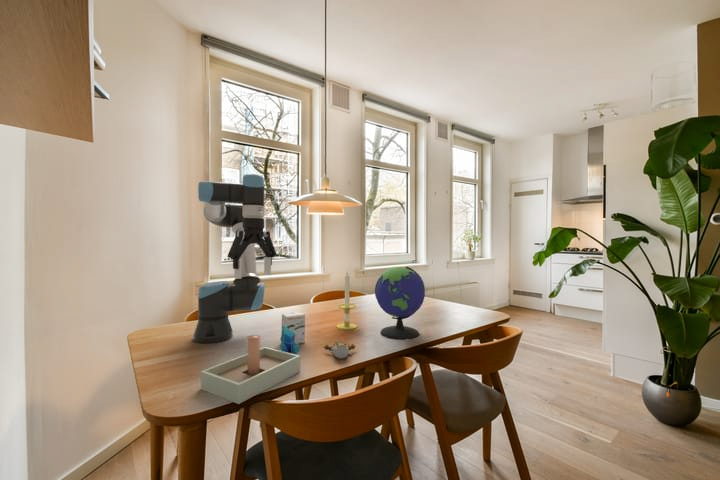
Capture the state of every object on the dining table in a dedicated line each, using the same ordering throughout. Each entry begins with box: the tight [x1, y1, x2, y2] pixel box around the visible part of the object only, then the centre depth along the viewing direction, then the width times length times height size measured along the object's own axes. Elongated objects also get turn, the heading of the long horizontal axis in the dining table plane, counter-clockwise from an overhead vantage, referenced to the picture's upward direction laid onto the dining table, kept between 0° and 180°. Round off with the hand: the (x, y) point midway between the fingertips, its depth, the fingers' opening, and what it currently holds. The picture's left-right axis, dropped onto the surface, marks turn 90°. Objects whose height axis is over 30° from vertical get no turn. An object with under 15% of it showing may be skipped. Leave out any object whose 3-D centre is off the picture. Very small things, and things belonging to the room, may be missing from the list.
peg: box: [246, 334, 261, 376], centre depth 99 cm, size 4×4×13 cm
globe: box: [374, 266, 426, 341], centre depth 146 cm, size 22×22×30 cm
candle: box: [336, 271, 358, 331], centre depth 156 cm, size 10×10×27 cm
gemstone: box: [280, 325, 300, 355], centre depth 115 cm, size 7×9×12 cm
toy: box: [323, 340, 356, 360], centre depth 121 cm, size 12×5×15 cm
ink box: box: [280, 311, 306, 345], centre depth 133 cm, size 9×5×12 cm, turn 123°
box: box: [200, 346, 301, 405], centre depth 99 cm, size 16×24×5 cm, turn 150°
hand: (253, 276), depth 118 cm, fingers open, 13 cm apart
